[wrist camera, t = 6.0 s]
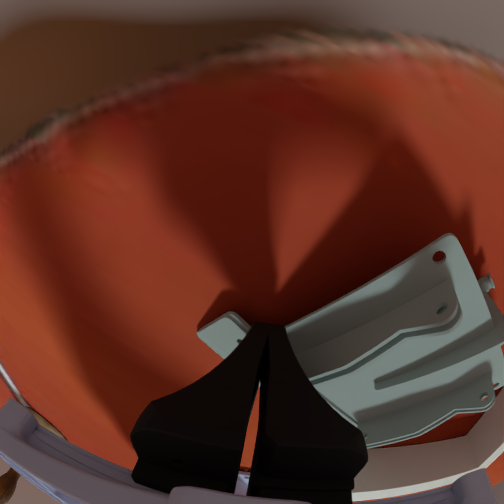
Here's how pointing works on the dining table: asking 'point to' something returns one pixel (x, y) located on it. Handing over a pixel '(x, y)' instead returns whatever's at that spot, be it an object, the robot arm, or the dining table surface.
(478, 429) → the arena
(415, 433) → the metal bracket
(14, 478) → the hand bell
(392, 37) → the dining table surface
